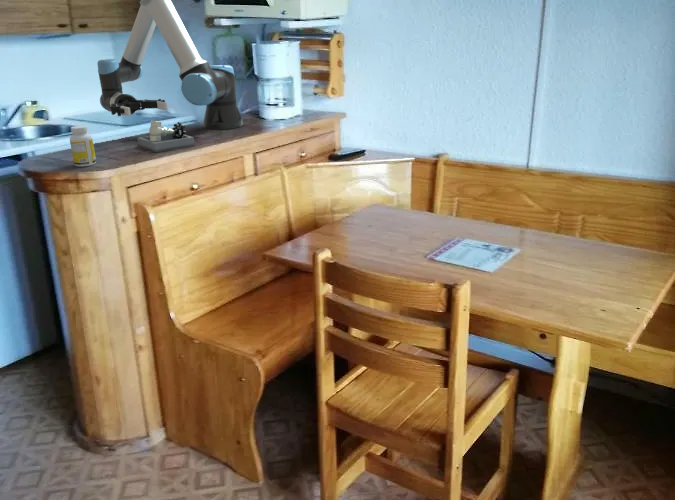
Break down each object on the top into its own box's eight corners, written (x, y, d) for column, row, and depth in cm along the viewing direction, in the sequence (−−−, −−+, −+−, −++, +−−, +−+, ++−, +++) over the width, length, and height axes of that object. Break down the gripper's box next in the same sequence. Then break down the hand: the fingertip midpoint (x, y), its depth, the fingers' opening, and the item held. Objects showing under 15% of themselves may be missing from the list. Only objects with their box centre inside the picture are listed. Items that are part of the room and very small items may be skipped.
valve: (155, 141, 216) (185, 142, 225) (156, 121, 214) (186, 123, 223) (144, 139, 220) (173, 140, 229) (144, 119, 218) (174, 121, 227)
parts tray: (175, 140, 233) (174, 131, 232) (194, 145, 223) (193, 137, 222) (138, 146, 225) (137, 137, 224) (156, 152, 215) (154, 143, 214)
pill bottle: (94, 161, 206) (87, 124, 202) (98, 165, 201) (92, 127, 197) (72, 164, 203) (65, 126, 199) (76, 168, 198) (69, 129, 194)
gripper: (156, 109, 252) (182, 114, 236) (92, 119, 237) (115, 125, 222) (153, 89, 249) (179, 93, 234) (88, 98, 235) (111, 102, 219)
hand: (148, 109), depth 228 cm, fingers open, 13 cm apart
